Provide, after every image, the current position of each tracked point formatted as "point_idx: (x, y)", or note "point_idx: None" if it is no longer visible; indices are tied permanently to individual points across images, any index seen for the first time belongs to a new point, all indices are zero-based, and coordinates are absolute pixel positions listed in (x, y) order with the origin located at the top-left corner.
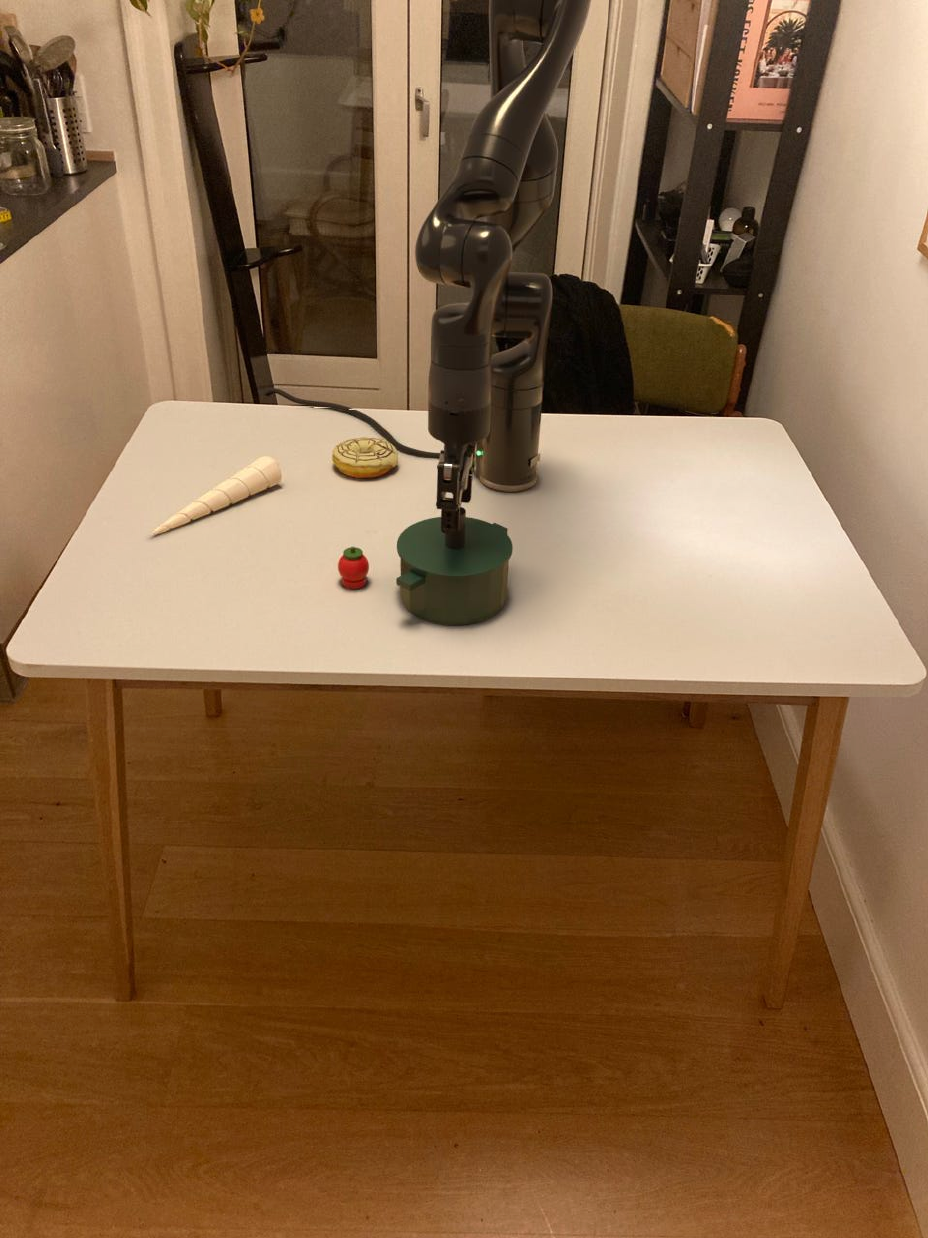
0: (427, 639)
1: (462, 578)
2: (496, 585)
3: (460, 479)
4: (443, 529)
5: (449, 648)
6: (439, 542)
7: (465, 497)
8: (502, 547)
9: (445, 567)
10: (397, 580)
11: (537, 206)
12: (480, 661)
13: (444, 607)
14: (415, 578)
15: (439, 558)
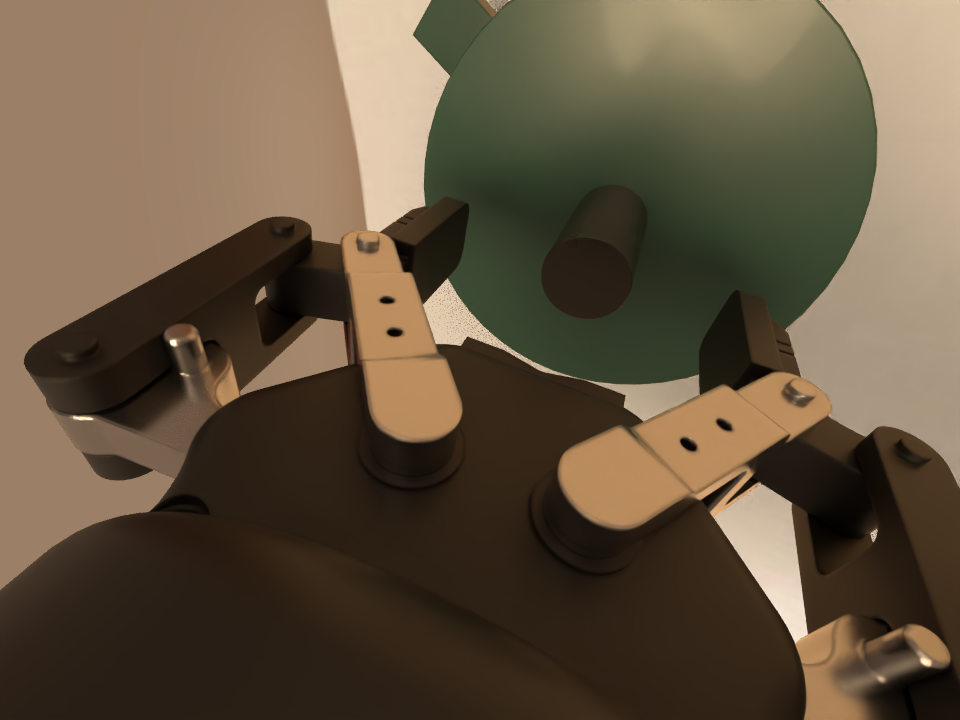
0: (442, 83)
1: None
2: None
3: (731, 377)
4: (419, 208)
5: (416, 140)
6: (631, 164)
7: (710, 342)
8: (574, 354)
9: (464, 173)
10: None
11: None
12: (386, 203)
13: None
14: (452, 55)
15: (517, 156)
